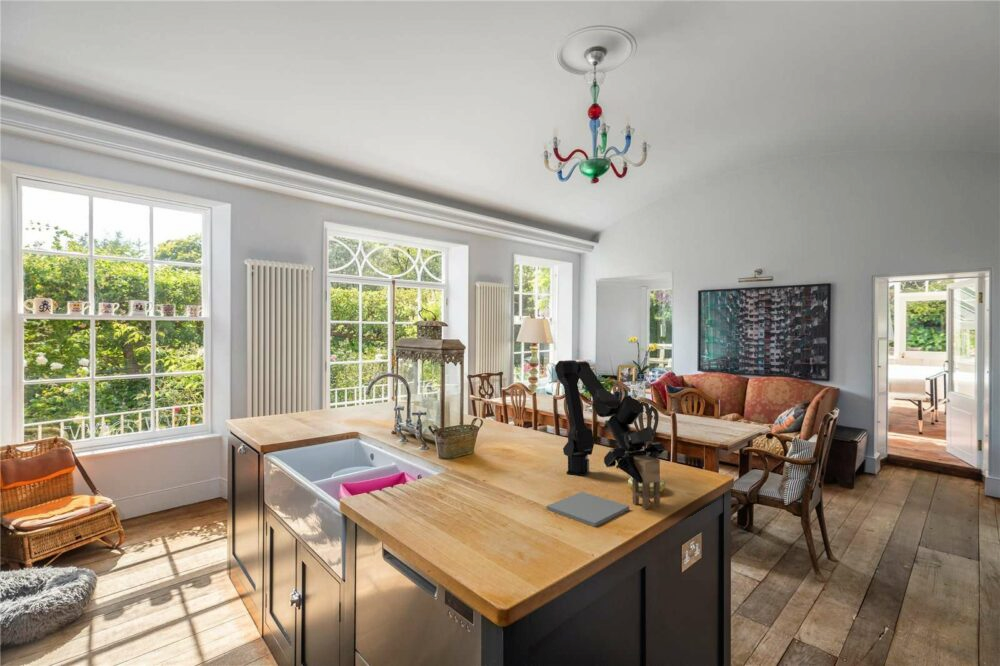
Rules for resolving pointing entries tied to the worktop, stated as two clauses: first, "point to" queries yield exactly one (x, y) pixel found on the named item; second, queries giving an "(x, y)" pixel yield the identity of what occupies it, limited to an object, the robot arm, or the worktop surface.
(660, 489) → the decorated donut
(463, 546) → the worktop surface
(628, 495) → the worktop surface
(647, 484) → the stool
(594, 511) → the mat
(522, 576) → the worktop surface
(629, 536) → the worktop surface
